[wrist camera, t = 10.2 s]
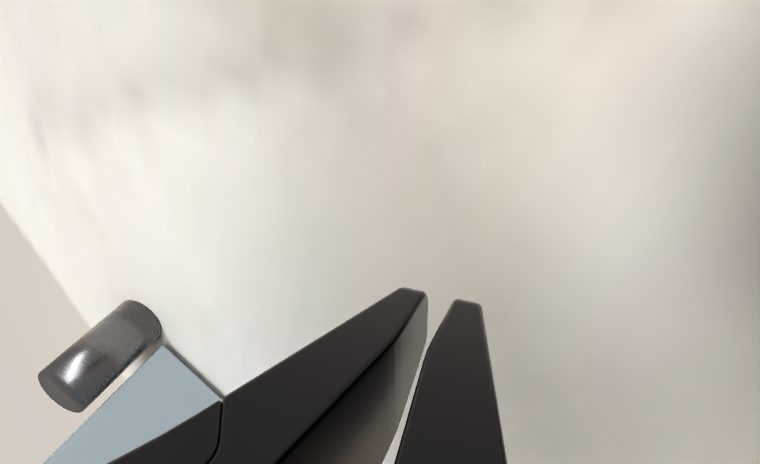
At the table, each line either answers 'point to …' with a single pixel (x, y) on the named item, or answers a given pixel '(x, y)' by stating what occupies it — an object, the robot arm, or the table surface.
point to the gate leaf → (137, 412)
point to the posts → (100, 356)
